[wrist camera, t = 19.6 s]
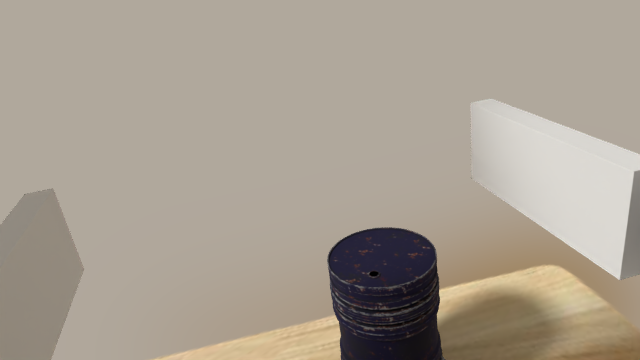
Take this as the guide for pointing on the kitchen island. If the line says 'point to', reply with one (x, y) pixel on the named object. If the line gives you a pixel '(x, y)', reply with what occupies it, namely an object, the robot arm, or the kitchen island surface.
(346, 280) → the dark blue cylinder
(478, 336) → the kitchen island surface
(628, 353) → the kitchen island surface
